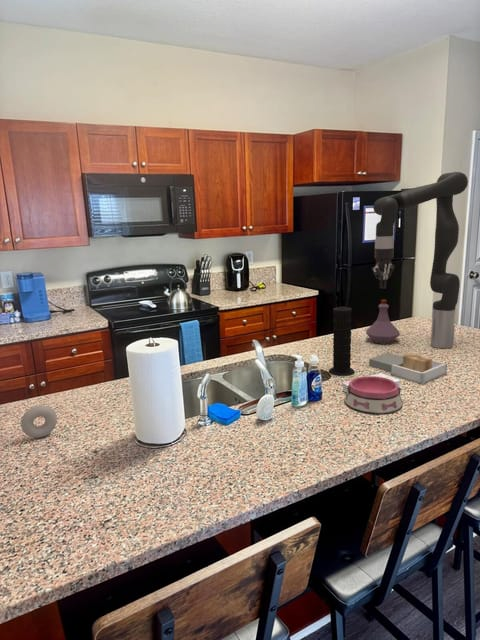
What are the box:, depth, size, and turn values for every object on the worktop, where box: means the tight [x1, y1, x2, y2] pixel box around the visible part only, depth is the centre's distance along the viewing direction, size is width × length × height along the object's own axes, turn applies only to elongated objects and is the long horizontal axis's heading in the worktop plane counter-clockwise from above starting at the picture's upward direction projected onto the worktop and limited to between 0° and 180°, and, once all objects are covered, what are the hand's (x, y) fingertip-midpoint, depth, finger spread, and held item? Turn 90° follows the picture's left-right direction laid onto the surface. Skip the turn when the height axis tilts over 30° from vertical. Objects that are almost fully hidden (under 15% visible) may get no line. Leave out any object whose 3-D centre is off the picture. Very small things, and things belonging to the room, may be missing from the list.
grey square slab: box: [368, 352, 403, 373], centre depth 178 cm, size 12×12×3 cm
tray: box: [390, 359, 448, 385], centre depth 168 cm, size 16×13×4 cm
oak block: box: [402, 353, 433, 372], centre depth 168 cm, size 5×6×9 cm
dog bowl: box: [343, 375, 404, 416], centre depth 146 cm, size 18×19×7 cm
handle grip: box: [328, 306, 356, 377], centre depth 172 cm, size 10×26×10 cm
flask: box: [365, 299, 401, 345], centre depth 210 cm, size 16×16×20 cm
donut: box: [20, 404, 58, 439], centre depth 132 cm, size 10×3×10 cm, turn 122°
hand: (382, 288), depth 188 cm, fingers closed
